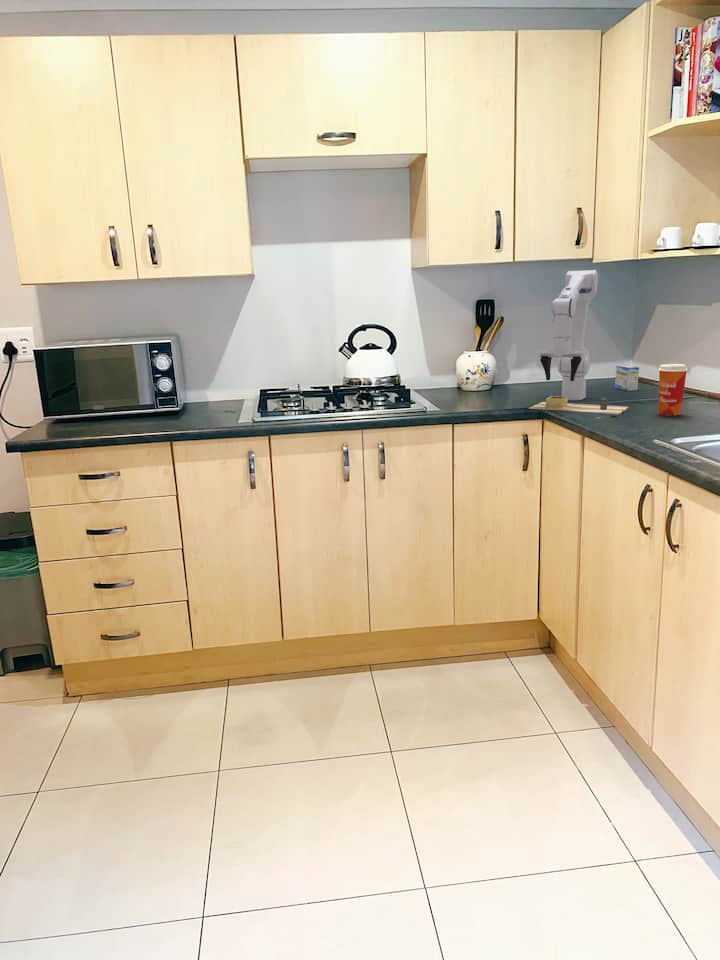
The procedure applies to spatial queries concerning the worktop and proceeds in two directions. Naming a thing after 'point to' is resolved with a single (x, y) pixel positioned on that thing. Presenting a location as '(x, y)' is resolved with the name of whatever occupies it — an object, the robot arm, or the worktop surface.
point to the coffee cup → (671, 388)
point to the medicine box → (626, 378)
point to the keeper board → (586, 407)
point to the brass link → (556, 401)
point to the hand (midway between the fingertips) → (560, 380)
